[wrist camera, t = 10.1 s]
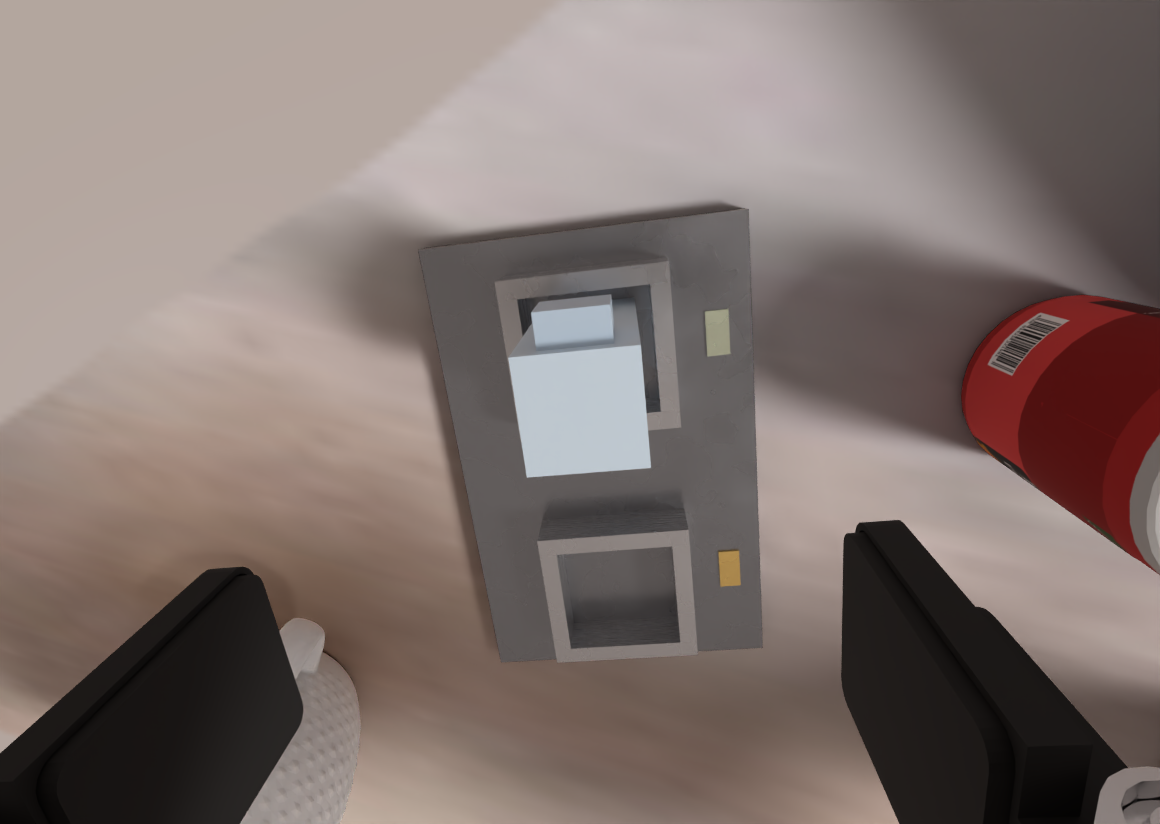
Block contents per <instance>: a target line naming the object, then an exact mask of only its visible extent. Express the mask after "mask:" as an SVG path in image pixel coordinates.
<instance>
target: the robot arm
mask: <svg viewBox="0 0 1160 824" xmlns="http://www.w3.org/2000/svg"><path fill="white" fill-rule="evenodd" d="M841 678H842V688H843V692H844V696H845V700H846V703H847V705H848V708H849V710H850V712H851V715H852V717H853V719H854V721H855V724H856V726H857V728H858V730H859V733H860V735H861V737H862V740H863V742H864V744H865V746H866V749H867V751H868V753H869V756H870V758H871V760H872V762H873V765H874V767H875V769H876V771H877V774H878V776H879V778H880V781H881V783H882V785H883V787H884V790H885V792H886V794H887V796H888V799H889V801H890V803H891V806H892V808H893V810H894V812H895V815H896V817H897V819H898V822H899V824H1160V768H1158V767H1150V766H1144V767H1135V768H1128V767H1127V766H1126V765H1125V764H1124V763H1123V762H1122V760H1121V759H1120V758H1119V757H1118V756H1117V755H1116V754H1115V752H1114V751H1113V750H1112V749H1111V748H1110V747H1109V746H1108V745H1107V743H1106V742H1105V741H1104V740H1103V739H1102V738H1101V737H1100V735H1099V734H1098V733H1097V732H1096V731H1095V730H1094V729H1093V728H1092V726H1091V725H1090V724H1089V723H1088V722H1087V721H1086V720H1085V719H1084V717H1083V716H1082V715H1081V714H1080V713H1079V712H1078V711H1077V709H1076V708H1075V707H1074V706H1073V705H1072V704H1071V703H1070V702H1069V700H1068V699H1067V698H1066V697H1065V696H1064V695H1063V694H1062V692H1061V691H1060V690H1059V689H1058V688H1057V687H1056V686H1055V685H1054V683H1053V682H1052V681H1051V680H1050V679H1049V678H1048V677H1047V675H1046V674H1045V673H1044V672H1043V671H1042V670H1041V669H1040V668H1039V666H1038V665H1037V664H1036V663H1035V662H1034V661H1033V660H1032V659H1031V657H1030V656H1029V655H1028V654H1027V653H1026V652H1025V651H1024V649H1023V648H1022V647H1021V646H1020V645H1019V644H1018V643H1017V642H1016V640H1015V639H1014V638H1013V637H1012V636H1011V635H1010V634H1009V632H1008V631H1007V630H1006V629H1005V628H1004V627H1003V626H1002V625H1001V623H1000V622H999V621H998V620H997V619H996V618H995V617H994V616H993V615H992V614H991V613H990V612H989V611H987V610H986V609H984V608H981V607H975V606H974V605H973V604H972V602H971V601H970V600H969V599H968V598H967V597H966V595H965V594H964V593H963V592H962V591H961V590H960V588H959V587H958V586H957V585H956V584H955V583H954V581H953V580H952V579H951V578H950V577H949V576H948V574H947V573H946V572H945V571H944V570H943V569H942V567H941V566H940V565H939V564H938V563H937V562H936V560H935V559H934V558H933V557H932V556H931V555H930V553H929V552H928V551H927V550H926V549H925V548H924V546H923V545H922V544H921V543H920V542H919V541H918V539H917V538H916V537H915V536H914V535H913V534H912V532H911V531H910V530H909V529H908V528H907V527H906V525H905V524H904V523H903V522H901V521H900V520H892V521H878V522H864V523H859V524H858V525H857V527H856V532H855V533H847V534H846V535H845V537H844V549H843V609H842V670H841ZM302 718H303V702H302V698H301V695H300V692H299V689H298V686H297V683H296V680H295V677H294V674H293V671H292V668H291V665H290V662H289V659H288V656H287V653H286V650H285V647H284V644H283V641H282V638H281V635H280V632H279V629H278V626H277V623H276V620H275V617H274V614H273V611H272V608H271V605H270V602H269V599H268V596H267V593H266V590H265V587H264V584H263V582H262V580H261V578H260V577H259V576H257V575H254V574H253V572H252V571H251V570H250V569H249V568H246V567H232V568H218V569H210V570H207V571H205V572H204V573H202V574H201V575H200V576H199V577H198V578H197V579H196V580H194V581H193V582H192V583H191V584H190V585H189V586H188V587H187V588H185V589H184V590H183V591H182V592H181V593H180V594H179V595H178V596H176V597H175V598H174V599H173V600H172V601H171V602H170V603H169V604H168V605H166V606H165V607H164V608H163V609H162V610H161V611H160V612H159V613H157V614H156V615H155V616H154V617H153V618H152V619H151V620H150V621H148V622H147V623H146V624H145V625H144V626H143V627H142V628H141V629H139V630H138V631H137V632H136V633H135V634H134V635H133V636H132V637H130V638H129V639H128V640H127V641H126V642H125V643H124V644H123V645H121V646H120V647H119V648H118V649H117V650H116V651H115V652H114V653H112V654H111V655H110V656H109V657H108V658H107V659H106V660H105V661H103V662H102V663H101V664H100V665H99V666H98V667H97V668H96V669H94V670H93V671H92V672H91V673H90V674H89V675H88V676H87V677H85V678H84V679H83V680H82V681H81V682H80V683H79V684H78V685H76V686H75V687H74V688H73V689H72V690H71V691H70V692H69V693H67V694H66V695H65V696H64V697H63V698H62V699H61V700H60V701H59V702H57V703H56V704H55V705H54V706H53V707H52V708H51V709H50V710H48V711H47V712H46V713H45V714H44V715H43V716H42V717H41V718H39V719H38V720H37V721H36V722H35V723H34V724H33V725H32V726H30V727H29V728H28V729H27V730H26V731H25V732H24V733H23V734H21V735H20V736H19V737H18V738H17V739H16V740H15V741H14V742H13V743H11V744H10V745H9V746H8V747H7V748H6V749H5V750H4V751H2V752H1V753H0V824H240V823H241V821H242V819H243V818H244V816H245V815H246V813H247V811H248V810H249V808H250V806H251V805H252V803H253V802H254V800H255V798H256V797H257V795H258V793H259V792H260V790H261V789H262V787H263V785H264V784H265V782H266V780H267V779H268V777H269V776H270V774H271V772H272V771H273V769H274V767H275V766H276V764H277V762H278V761H279V759H280V758H281V756H282V754H283V753H284V751H285V749H286V748H287V746H288V745H289V743H290V741H291V740H292V738H293V736H294V735H295V733H296V732H297V730H298V728H299V726H300V724H301V721H302Z"/></svg>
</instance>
